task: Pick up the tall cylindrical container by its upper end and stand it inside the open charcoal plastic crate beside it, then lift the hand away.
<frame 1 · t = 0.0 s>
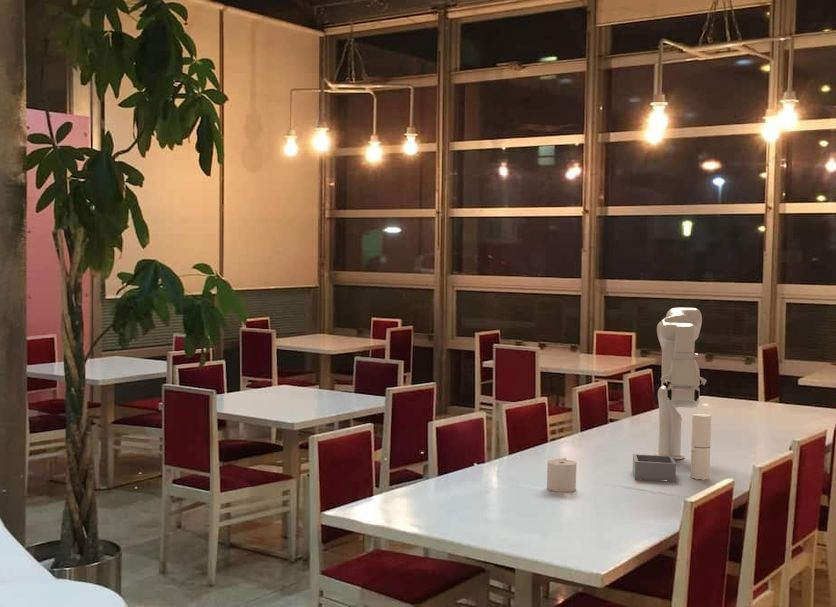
hand: (682, 400, 371), 31 cm above the table, tool pointing down, fingers open, 9 cm apart
crate: (653, 476, 377), on the table
toilet tissue: (560, 489, 353), on the table
cylindrical container: (699, 478, 376), on the table
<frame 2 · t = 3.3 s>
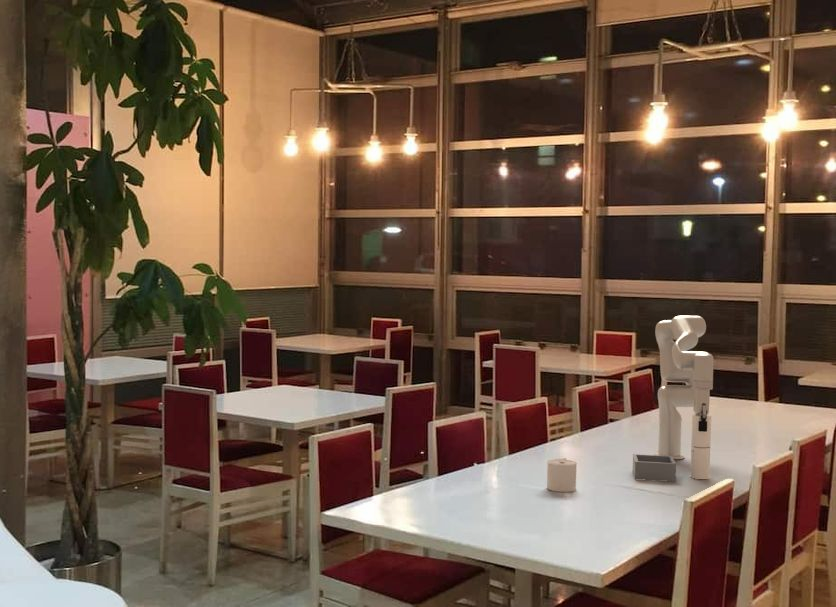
hand: (701, 429, 375), 19 cm above the table, tool pointing down, fingers closed on cylindrical container, 7 cm apart
cylindrical container: (699, 478, 376), on the table, touching gripper
everything else where it was.
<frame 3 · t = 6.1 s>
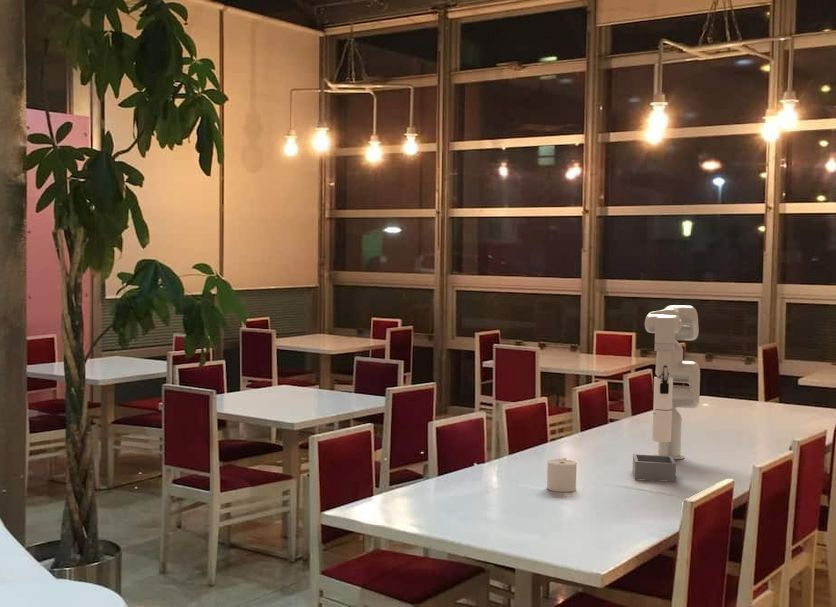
hand: (663, 392, 375), 34 cm above the table, tool pointing down, fingers closed on cylindrical container, 7 cm apart
cylindrical container: (661, 441, 376), point 14 cm above the table, touching gripper
everything else where it was.
when the fingers open (23 cm above the table, at t = 9.0 s): cylindrical container drops 2 cm, resting on crate.
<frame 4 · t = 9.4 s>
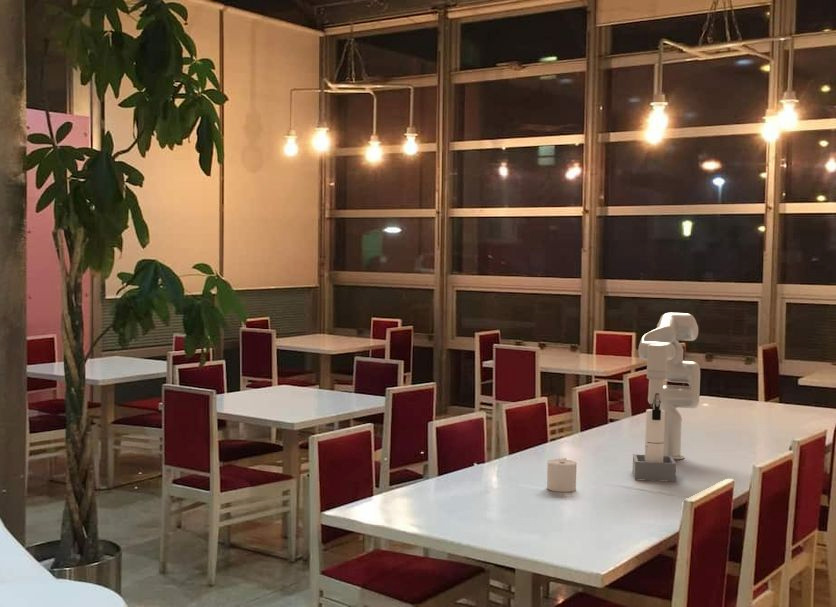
hand: (655, 418, 376), 23 cm above the table, tool pointing down, fingers open, 9 cm apart
cylindrical container: (653, 473, 377), point 1 cm above the table, touching crate
everything else where it was.
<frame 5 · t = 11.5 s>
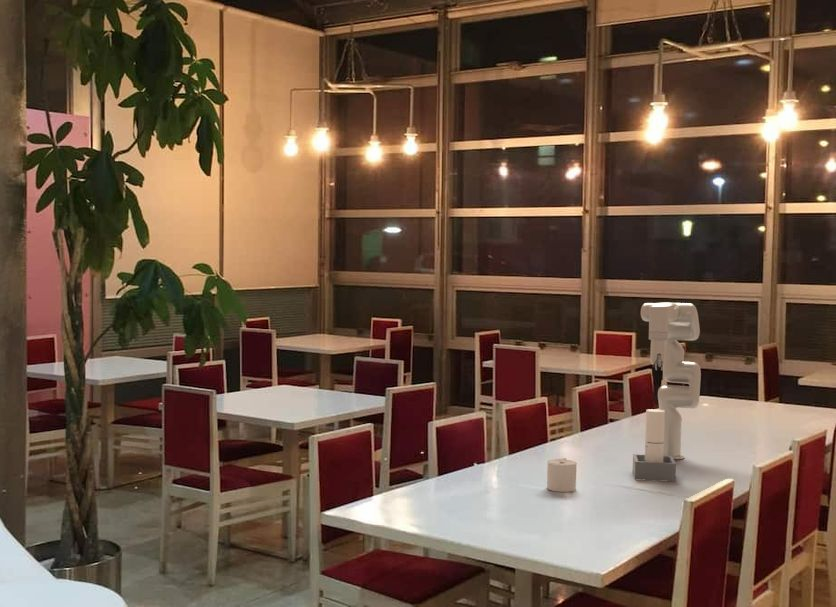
hand: (657, 378, 381), 38 cm above the table, tool pointing down, fingers open, 9 cm apart
nothing on the table moved.
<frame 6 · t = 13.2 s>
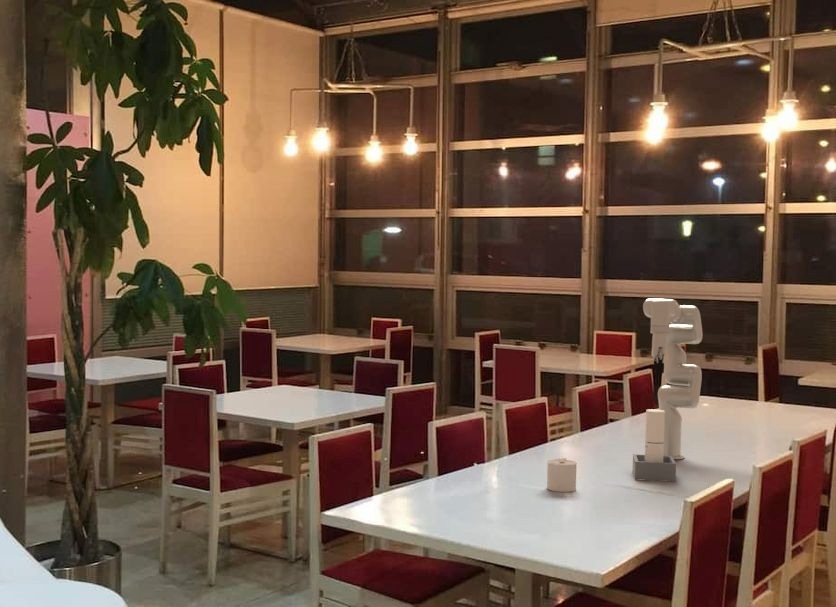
hand: (658, 371, 389), 40 cm above the table, tool pointing down, fingers open, 9 cm apart
nothing on the table moved.
at the end: cylindrical container inside the target area on the crate (0.4 cm from its centre), point 1.0 cm above the crate's base; cylindrical container tilted 0°; the gripper is holding nothing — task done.
